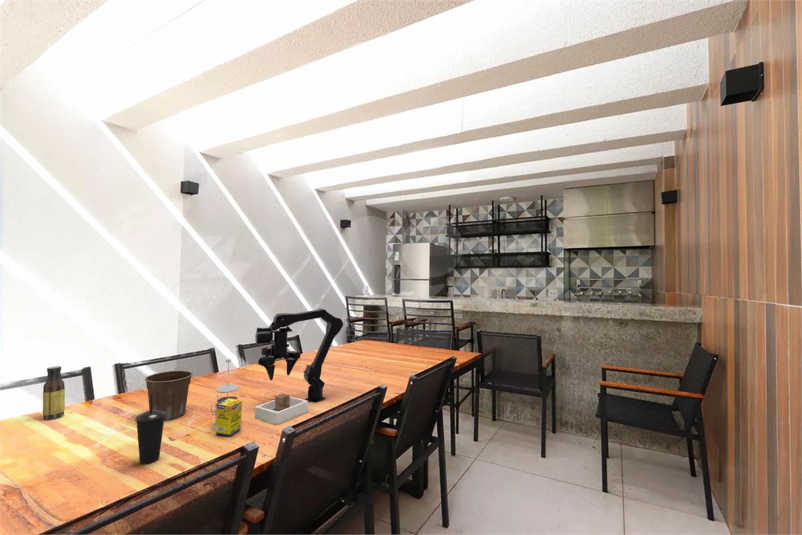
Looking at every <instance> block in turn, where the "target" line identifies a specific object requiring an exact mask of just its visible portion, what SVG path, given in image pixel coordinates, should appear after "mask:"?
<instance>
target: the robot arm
mask: <svg viewBox="0 0 802 535" xmlns="http://www.w3.org/2000/svg"><path fill="white" fill-rule="evenodd" d="M316 319H321V320H323V321H324V322H325V323H326V327H325V333H324V334H325V335H324V336H323V339H322V341H321V343H320V345H319V347H318V350H317V352H316V354H315V356H314V358H313V361H312V362H311V363H310V364H306V367H305V370H304V371H303V378H304V380H305V382H306V383H307V384H308V385H309V386H308V388H307V389H308V391H307V397H306V398H305V400H306V401H308V402H309V401H310V402H312V403H318V402H320V401H323V400H326V396H324V386H325V384H326V383H325V382H324V381H323V380H322V379H321V375H322V368H323V364H324V362H325V360H326V357H327V355H328V353H329V350H330V349H331V346H332V343H333V342H334V339H335V338H336V336H337V335H338V334H339V333H340V332H341V330H342V329H343V326H344V322H343V320H342V318H339V317H336V316H334V315H333V314H331V313H329V312H328V311H327V310H326V309H324V308H318V309H315V310H314V309H313V310H308V311H300V312H297V313H296V312H295V313H288V312H287V313H285V312H284V313H281V312H280V313H276V314H274V317H273V321H272V322H271V324H270V325H269V326H268V327H256V331H255V337H254V338H255V339H254V340H255V344H256V345H259V344H271V342H272V341H273V343H272V344H271V346H270V348H268V347H263V348H261V355H262V357H260V358H258V363H257V364H258V365H260V366H261V367H264V369H265V370H266V372H267V375H268V378H269V380H270V381H273V379H274V374H275V369H276V365H275V363H276V362H278V361H282V360H285V362H286V376H288V377H289V376H290V375H291V373H292V371H293V369H294V366H295V365H296V363H297V362H298V361H299V359H301V353H300V351H295V350H290V351H288V347H290V344H288V336H289V335H288V334H289V333H292V332H293V329H291V328H290V326H291V325H293V324H296V323H299V322H304V321H310V320H316ZM288 332H289V333H288Z"/></svg>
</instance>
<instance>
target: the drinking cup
mask: <svg viewBox="0 0 802 535" xmlns="http://www.w3.org/2000/svg"><path fill="white" fill-rule="evenodd" d="M165 415H166V412H165V411H161V410H153V394H150V410H146V411H144V412H142V413H140V414H137V415H135V417H134V418H135V421H136V432H137V444H138V446H137V447H138V454H139V455H138V456H139V464H140V465H149V464H150V465H151V464H152V462H153V463H156V462H157V461H158V460H159V459H160V456H161V455H160V453H161V448H162V447H161V446H162V439H163V431H164V424H165V421H164V417H165Z"/></svg>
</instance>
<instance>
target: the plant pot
mask: <svg viewBox="0 0 802 535" xmlns="http://www.w3.org/2000/svg"><path fill="white" fill-rule="evenodd" d="M192 376H193V372H191V371H189V370H188V371H187V370H168V371H162V372H158V373H157V372H156V373H153V374H150V375H148V376H145V378H144V381H145V383H146V390H147V397H148V399H147V400H148V409H149V410H150V394H153V410H161V411H165V412H166V415H165V417H164V422H166V421H171V420H175V419H178V418H180V417H181V416H184V415H185V414H186V409H187V403H188V396H189V395H188V394H189V389H190V384H191V380H192ZM149 410H148V411H149Z"/></svg>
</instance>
